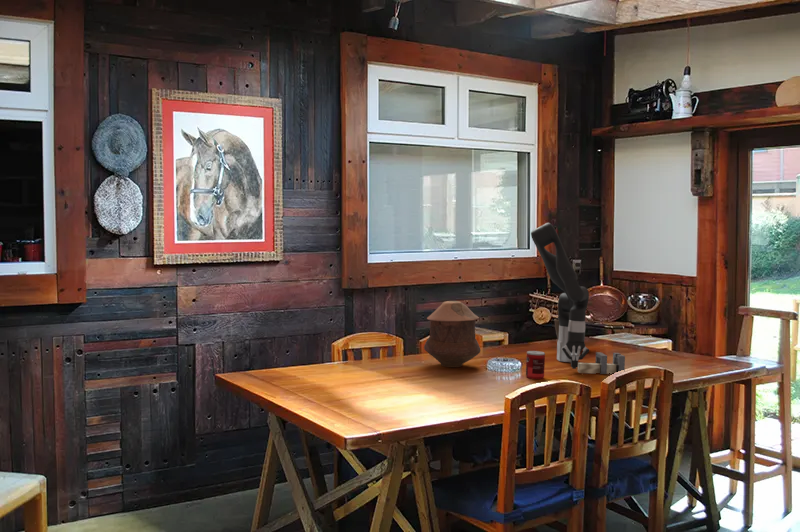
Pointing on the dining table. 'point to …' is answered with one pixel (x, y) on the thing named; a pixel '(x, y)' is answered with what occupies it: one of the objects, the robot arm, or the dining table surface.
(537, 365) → the canned food
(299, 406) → the dining table surface
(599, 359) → the iron collars
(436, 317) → the pottery vessel
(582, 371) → the ash bar
